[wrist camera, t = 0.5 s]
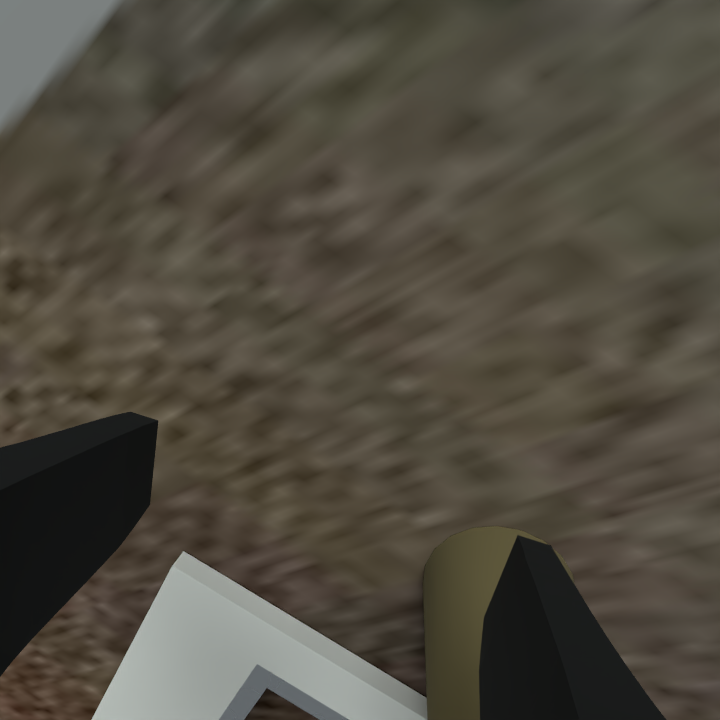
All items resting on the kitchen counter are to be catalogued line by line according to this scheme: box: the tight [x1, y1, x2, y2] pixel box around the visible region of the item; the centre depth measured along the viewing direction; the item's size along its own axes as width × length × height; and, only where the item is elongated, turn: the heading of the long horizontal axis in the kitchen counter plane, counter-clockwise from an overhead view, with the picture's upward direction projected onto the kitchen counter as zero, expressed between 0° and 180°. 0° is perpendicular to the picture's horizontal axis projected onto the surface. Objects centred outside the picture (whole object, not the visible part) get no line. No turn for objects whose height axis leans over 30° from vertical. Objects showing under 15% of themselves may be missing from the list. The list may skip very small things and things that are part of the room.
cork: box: [423, 526, 574, 720], centre depth 18 cm, size 6×6×11 cm
